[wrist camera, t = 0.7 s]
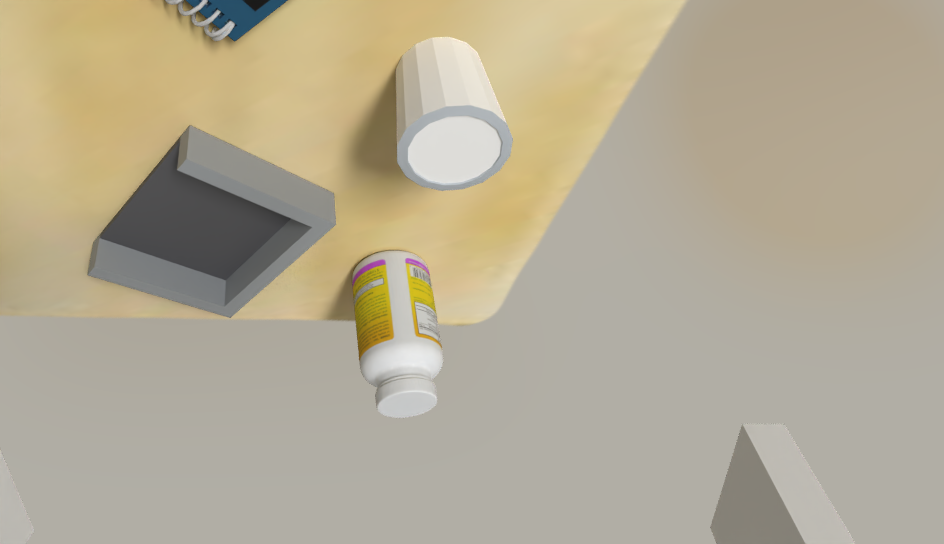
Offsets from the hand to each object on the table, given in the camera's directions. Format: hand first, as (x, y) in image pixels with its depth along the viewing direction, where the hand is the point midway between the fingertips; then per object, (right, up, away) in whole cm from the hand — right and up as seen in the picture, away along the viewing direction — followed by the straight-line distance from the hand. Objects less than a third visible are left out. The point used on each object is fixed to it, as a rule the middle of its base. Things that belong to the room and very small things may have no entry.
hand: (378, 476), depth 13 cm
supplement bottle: (-5, +4, +48) cm, 49 cm away
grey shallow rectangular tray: (-18, +8, +39) cm, 44 cm away
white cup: (0, +17, +32) cm, 36 cm away
